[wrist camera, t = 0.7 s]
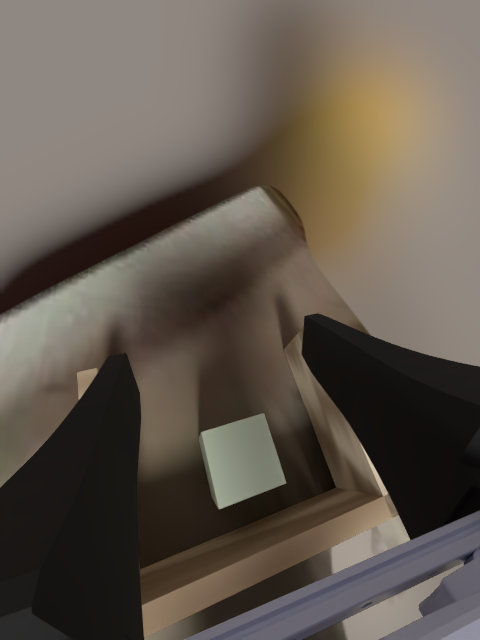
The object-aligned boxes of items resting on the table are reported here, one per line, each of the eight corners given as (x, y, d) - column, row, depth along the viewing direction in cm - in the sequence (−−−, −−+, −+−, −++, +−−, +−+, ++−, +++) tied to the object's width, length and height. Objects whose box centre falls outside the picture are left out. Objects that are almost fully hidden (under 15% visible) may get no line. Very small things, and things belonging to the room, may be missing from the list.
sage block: (264, 477, 23) (286, 483, 18) (211, 497, 22) (218, 509, 17) (247, 422, 25) (263, 412, 20) (198, 438, 24) (201, 432, 18)
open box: (354, 498, 24) (407, 510, 18) (124, 599, 19) (95, 661, 13) (293, 347, 29) (319, 319, 23) (103, 393, 24) (77, 372, 18)
